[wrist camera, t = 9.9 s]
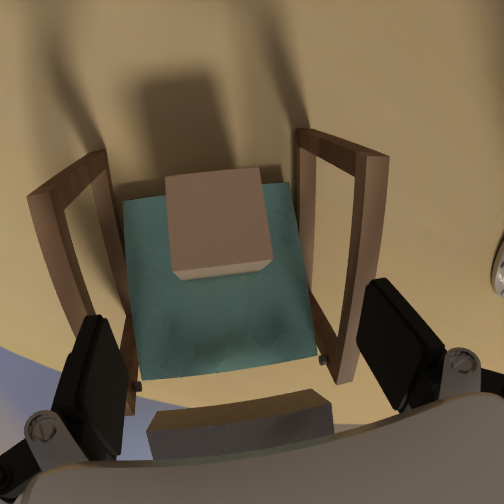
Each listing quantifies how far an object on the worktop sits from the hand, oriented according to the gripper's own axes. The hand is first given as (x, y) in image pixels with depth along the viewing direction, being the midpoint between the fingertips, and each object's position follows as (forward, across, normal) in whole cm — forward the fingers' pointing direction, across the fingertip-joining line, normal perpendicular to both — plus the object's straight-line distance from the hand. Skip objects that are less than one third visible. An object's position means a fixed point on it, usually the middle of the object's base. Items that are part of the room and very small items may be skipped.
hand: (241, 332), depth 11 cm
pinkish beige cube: (+11, 0, +1) cm, 11 cm away
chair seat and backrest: (+9, +1, +8) cm, 12 cm away
